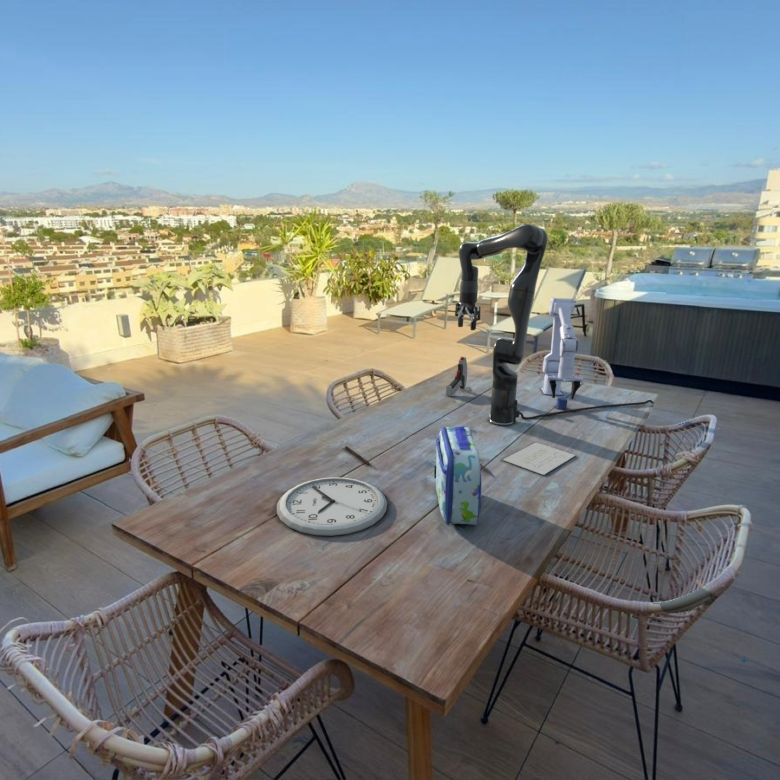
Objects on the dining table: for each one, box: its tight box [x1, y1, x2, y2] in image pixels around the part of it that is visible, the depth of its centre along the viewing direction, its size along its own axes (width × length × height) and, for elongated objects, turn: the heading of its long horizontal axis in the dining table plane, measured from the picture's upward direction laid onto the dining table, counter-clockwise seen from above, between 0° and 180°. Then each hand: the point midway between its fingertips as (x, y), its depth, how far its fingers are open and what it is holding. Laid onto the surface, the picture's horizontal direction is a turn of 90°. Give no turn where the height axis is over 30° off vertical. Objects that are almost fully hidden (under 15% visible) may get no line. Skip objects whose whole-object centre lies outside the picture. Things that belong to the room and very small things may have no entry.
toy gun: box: [445, 356, 468, 397], centre depth 239 cm, size 2×16×15 cm
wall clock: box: [276, 476, 388, 537], centre depth 142 cm, size 30×2×30 cm
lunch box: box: [433, 425, 482, 526], centre depth 140 cm, size 26×11×21 cm, turn 179°
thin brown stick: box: [344, 445, 370, 465], centre depth 173 cm, size 15×1×1 cm, turn 34°
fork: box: [480, 463, 488, 474], centre depth 169 cm, size 3×16×2 cm, turn 15°
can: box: [556, 396, 568, 410], centre depth 224 cm, size 4×4×4 cm
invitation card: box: [502, 442, 577, 476], centre depth 174 cm, size 21×1×15 cm
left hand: (466, 328), depth 228 cm, fingers open, 8 cm apart
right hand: (562, 397), depth 223 cm, fingers open, 7 cm apart
